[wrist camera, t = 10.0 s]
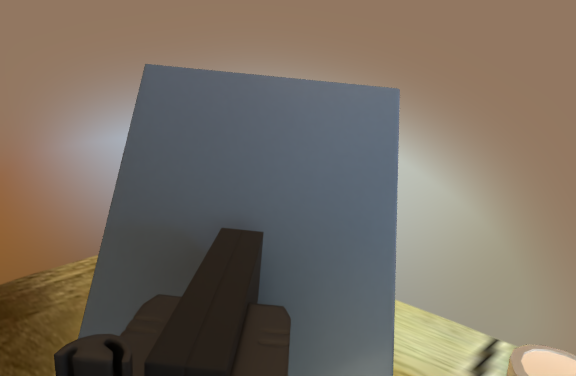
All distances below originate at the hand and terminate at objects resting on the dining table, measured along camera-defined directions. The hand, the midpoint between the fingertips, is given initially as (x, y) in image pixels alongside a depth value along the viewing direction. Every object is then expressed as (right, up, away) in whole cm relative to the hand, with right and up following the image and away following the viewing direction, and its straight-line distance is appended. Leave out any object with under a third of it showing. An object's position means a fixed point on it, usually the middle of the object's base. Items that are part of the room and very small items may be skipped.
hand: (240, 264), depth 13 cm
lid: (0, 0, +2) cm, 2 cm away
